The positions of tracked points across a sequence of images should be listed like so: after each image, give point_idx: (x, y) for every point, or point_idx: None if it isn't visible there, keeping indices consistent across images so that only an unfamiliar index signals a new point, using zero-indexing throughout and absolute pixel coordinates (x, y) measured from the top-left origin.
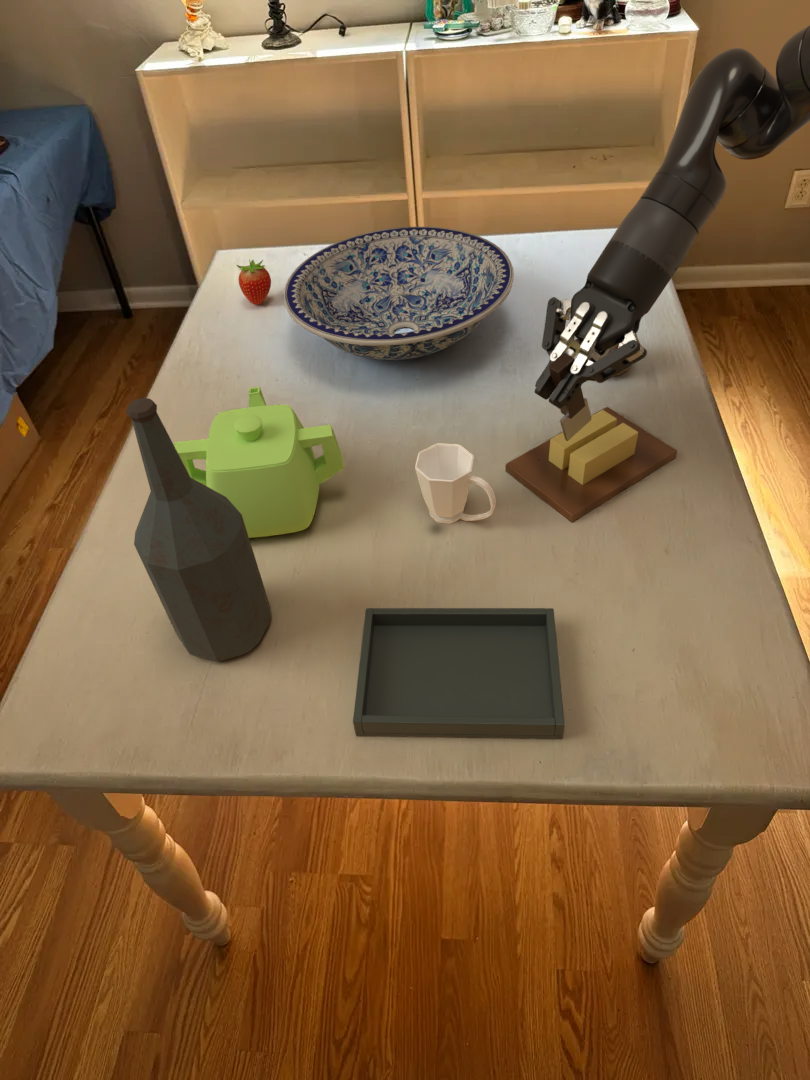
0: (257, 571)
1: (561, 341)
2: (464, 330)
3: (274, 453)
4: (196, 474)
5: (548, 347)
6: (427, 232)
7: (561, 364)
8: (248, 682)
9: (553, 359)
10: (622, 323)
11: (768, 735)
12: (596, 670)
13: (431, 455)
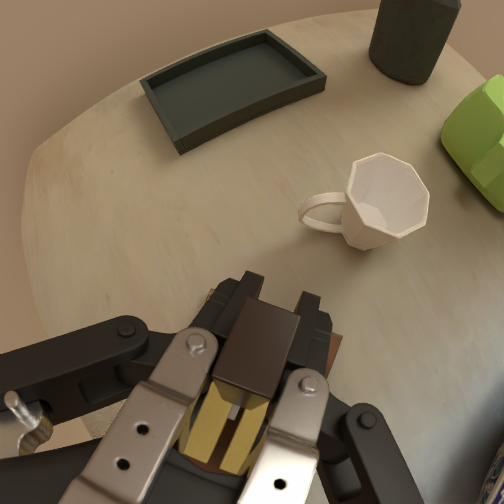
0: (396, 32)
1: (306, 441)
2: (494, 477)
3: (498, 98)
4: None
5: (352, 412)
6: None
7: (251, 332)
8: (351, 44)
9: (306, 373)
10: (7, 486)
11: (38, 169)
12: (134, 141)
13: (417, 213)
